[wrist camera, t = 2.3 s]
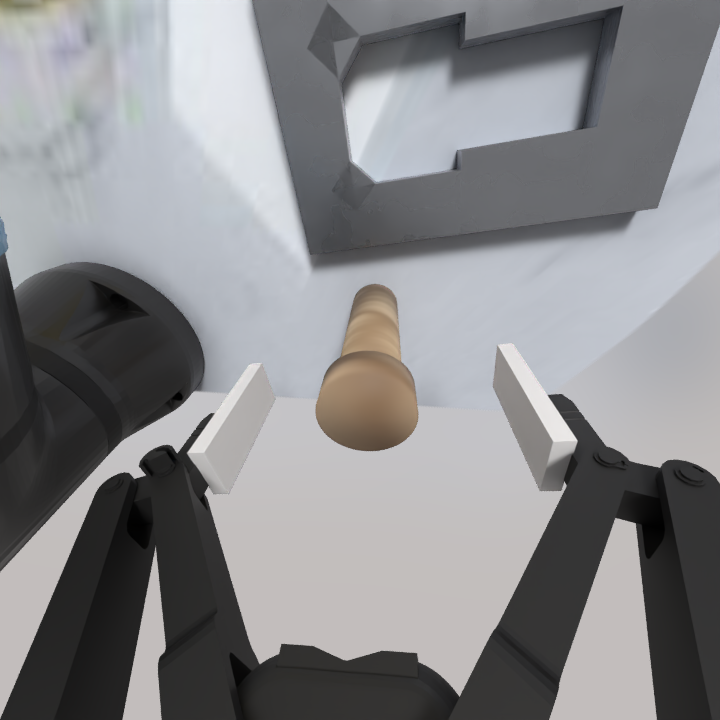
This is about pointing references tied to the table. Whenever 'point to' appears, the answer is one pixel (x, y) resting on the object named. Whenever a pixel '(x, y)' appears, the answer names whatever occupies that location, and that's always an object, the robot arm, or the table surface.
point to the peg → (369, 379)
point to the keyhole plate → (497, 161)
